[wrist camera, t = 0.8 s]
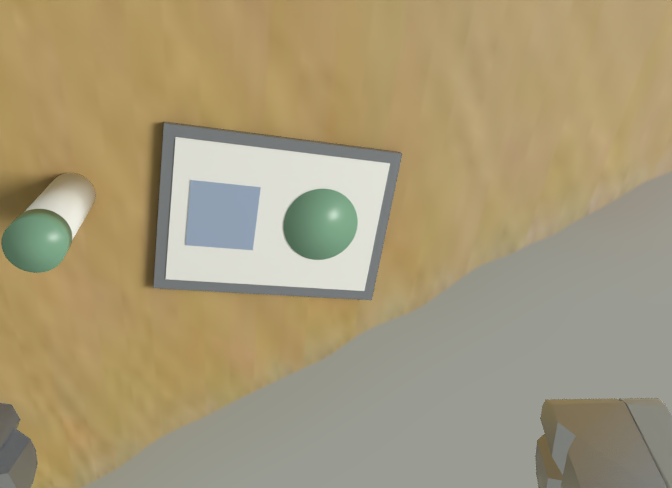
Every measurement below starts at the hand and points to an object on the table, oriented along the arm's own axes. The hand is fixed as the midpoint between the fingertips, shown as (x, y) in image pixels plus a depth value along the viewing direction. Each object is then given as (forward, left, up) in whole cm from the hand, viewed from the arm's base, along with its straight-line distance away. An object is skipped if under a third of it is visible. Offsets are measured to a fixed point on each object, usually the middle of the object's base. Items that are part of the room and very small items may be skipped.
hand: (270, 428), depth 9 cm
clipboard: (+10, +7, -42) cm, 44 cm away
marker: (+10, -11, -42) cm, 45 cm away
